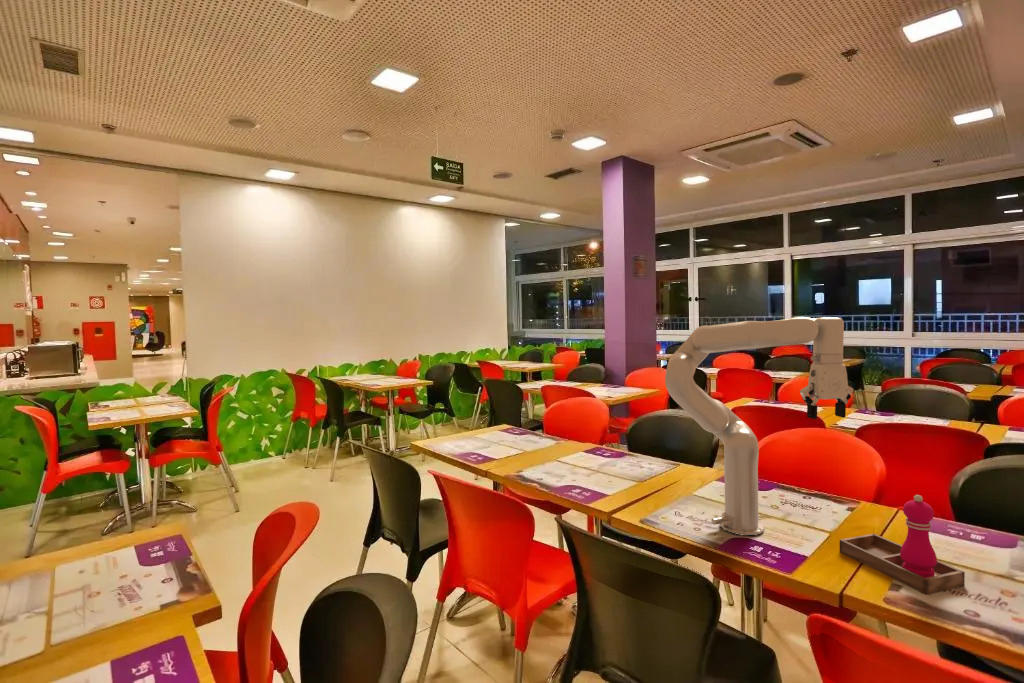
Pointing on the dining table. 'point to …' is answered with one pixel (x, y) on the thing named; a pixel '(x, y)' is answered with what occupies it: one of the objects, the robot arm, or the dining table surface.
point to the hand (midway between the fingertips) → (826, 417)
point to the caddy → (899, 564)
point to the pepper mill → (918, 538)
